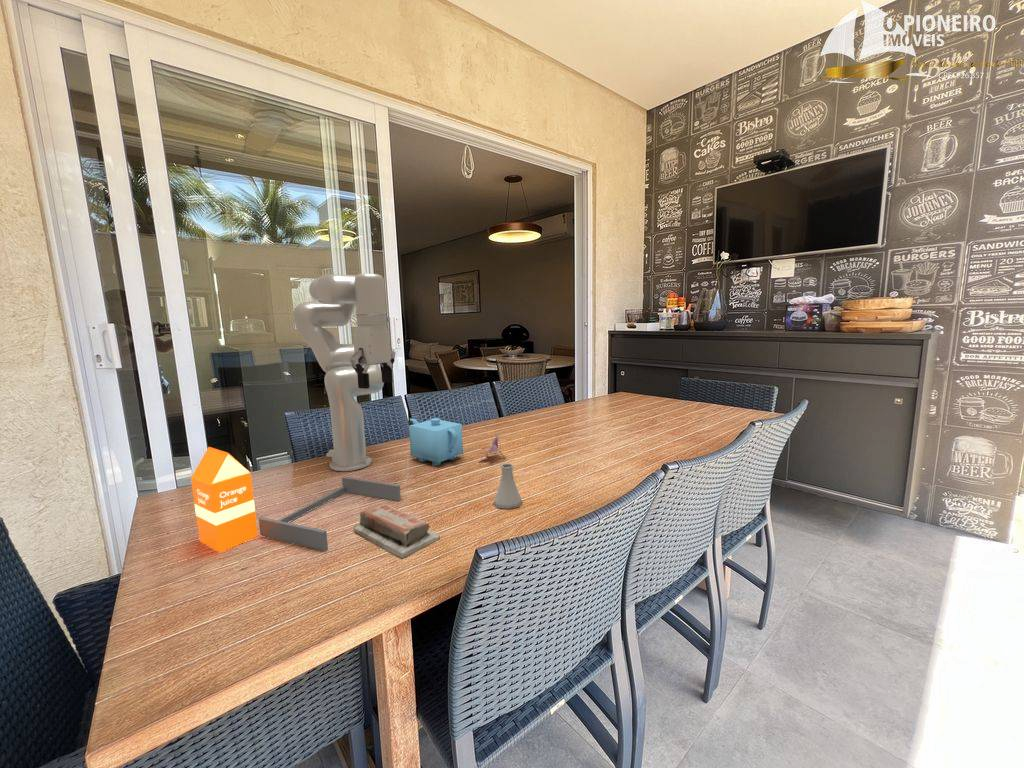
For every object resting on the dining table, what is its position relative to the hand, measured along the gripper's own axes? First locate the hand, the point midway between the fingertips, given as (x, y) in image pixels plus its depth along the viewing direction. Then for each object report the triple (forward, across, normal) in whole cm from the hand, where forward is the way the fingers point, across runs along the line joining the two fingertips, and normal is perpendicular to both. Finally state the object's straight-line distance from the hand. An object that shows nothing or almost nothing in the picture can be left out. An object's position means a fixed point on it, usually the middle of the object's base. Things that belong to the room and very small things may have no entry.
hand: (376, 385), depth 116 cm
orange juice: (+29, +36, -12) cm, 48 cm away
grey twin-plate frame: (+28, +20, +2) cm, 35 cm away
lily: (+29, -30, +21) cm, 46 cm away
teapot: (+29, -24, +2) cm, 37 cm away
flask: (+29, 0, +38) cm, 48 cm away
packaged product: (+29, +22, +21) cm, 42 cm away
